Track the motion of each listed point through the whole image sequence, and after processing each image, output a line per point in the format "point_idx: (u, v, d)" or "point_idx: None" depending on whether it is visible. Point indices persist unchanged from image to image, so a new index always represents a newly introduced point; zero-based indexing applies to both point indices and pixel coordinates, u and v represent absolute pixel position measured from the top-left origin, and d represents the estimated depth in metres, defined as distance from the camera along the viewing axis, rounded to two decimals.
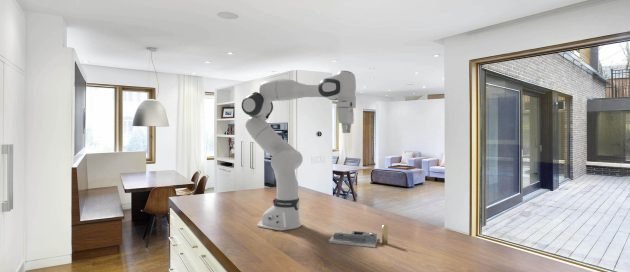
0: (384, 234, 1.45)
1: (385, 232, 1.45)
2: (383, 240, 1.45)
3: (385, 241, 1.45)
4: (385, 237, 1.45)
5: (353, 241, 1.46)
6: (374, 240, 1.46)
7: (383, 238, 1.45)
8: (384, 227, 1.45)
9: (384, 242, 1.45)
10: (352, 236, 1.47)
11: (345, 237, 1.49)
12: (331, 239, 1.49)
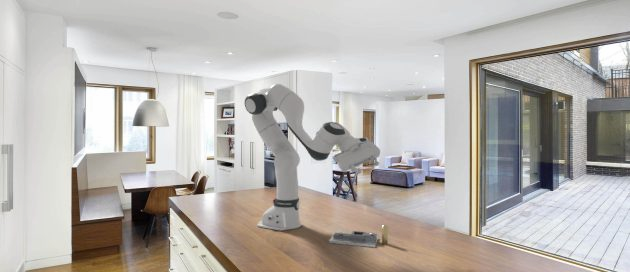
0: (384, 234, 1.45)
1: (385, 232, 1.45)
2: (383, 240, 1.45)
3: (385, 241, 1.45)
4: (385, 237, 1.45)
5: (353, 241, 1.46)
6: (374, 240, 1.46)
7: (383, 238, 1.45)
8: (384, 227, 1.45)
9: (384, 242, 1.45)
10: (352, 236, 1.47)
11: (345, 237, 1.49)
12: (331, 239, 1.49)
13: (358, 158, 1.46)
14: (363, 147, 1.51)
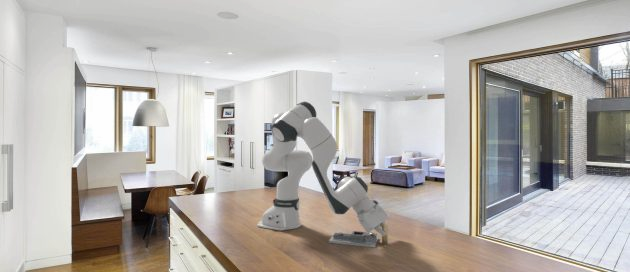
0: None
1: None
2: (383, 240, 1.45)
3: (385, 241, 1.45)
4: (385, 237, 1.45)
5: (353, 241, 1.46)
6: (374, 240, 1.46)
7: (383, 238, 1.45)
8: (384, 227, 1.45)
9: (384, 242, 1.45)
10: (352, 236, 1.47)
11: (345, 237, 1.49)
12: (331, 239, 1.49)
13: (378, 221, 1.46)
14: (376, 210, 1.52)
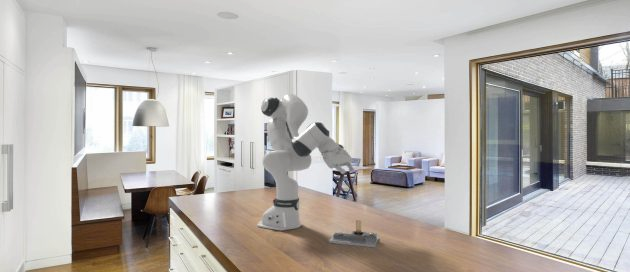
0: (358, 229, 1.48)
1: (358, 227, 1.48)
2: None
3: None
4: (358, 232, 1.48)
5: (353, 241, 1.46)
6: (374, 240, 1.46)
7: (357, 233, 1.49)
8: (358, 222, 1.48)
9: None
10: (352, 236, 1.47)
11: (345, 237, 1.49)
12: (331, 239, 1.49)
13: (341, 160, 1.60)
14: (341, 152, 1.66)
